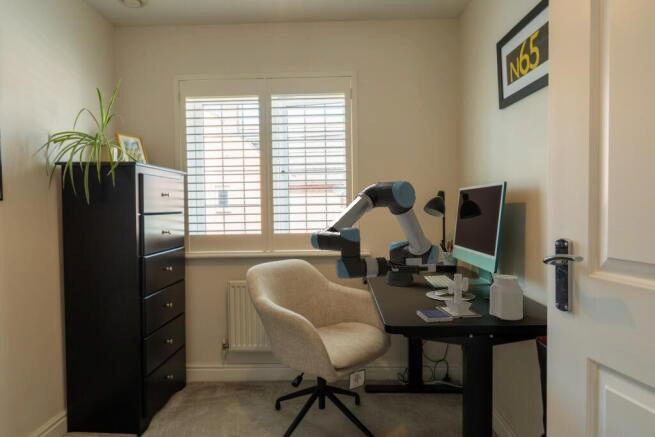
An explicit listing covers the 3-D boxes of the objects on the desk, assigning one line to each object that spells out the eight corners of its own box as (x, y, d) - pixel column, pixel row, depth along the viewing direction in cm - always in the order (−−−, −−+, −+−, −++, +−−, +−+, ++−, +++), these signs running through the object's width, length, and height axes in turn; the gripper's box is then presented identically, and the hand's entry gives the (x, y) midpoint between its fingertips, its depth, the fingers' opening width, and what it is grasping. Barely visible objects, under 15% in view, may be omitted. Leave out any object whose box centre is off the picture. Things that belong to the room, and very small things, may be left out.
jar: (484, 312, 142) (485, 274, 141) (504, 309, 144) (504, 273, 144) (507, 321, 131) (507, 280, 130) (528, 318, 133) (528, 278, 133)
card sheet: (436, 307, 149) (436, 306, 149) (463, 306, 150) (463, 305, 150) (451, 318, 135) (451, 316, 135) (481, 316, 136) (481, 315, 136)
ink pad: (416, 313, 141) (416, 310, 140) (441, 312, 142) (441, 308, 142) (426, 322, 131) (426, 318, 131) (452, 320, 132) (452, 316, 132)
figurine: (456, 307, 148) (456, 271, 147) (474, 313, 139) (474, 275, 139) (442, 309, 145) (442, 272, 144) (459, 315, 136) (459, 277, 136)
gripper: (368, 270, 151) (416, 267, 154) (385, 284, 126) (442, 281, 129) (367, 252, 150) (416, 250, 153) (384, 263, 126) (442, 260, 128)
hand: (428, 264), depth 141 cm, fingers open, 13 cm apart
